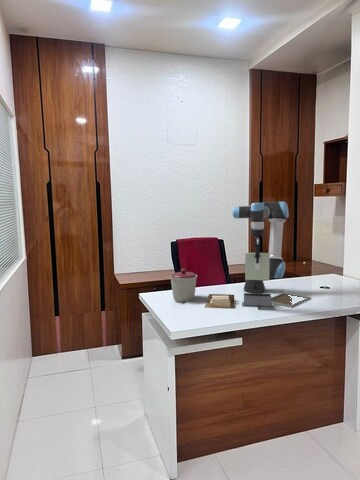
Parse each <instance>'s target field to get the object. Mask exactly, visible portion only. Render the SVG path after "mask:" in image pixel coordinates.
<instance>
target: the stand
mask: <svg viewBox="0 0 360 480" xmlns="http://www.w3.org/2000/svg"><path fill="white" fill-rule="evenodd" d="M271 297H272V293H249V292H244V293H243V301H242V302H241V304H242V305H241V307H244V308H257V310H260V311H261V310H262V311H267V310H268V311H273V310H274V305H273V304H272V303H271Z"/></svg>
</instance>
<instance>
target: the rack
mask: <svg viewBox="0 0 360 480" xmlns="http://www.w3.org/2000/svg"><path fill="white" fill-rule="evenodd" d="M212 296H229V300H231V305H230V307H210V301H211V299H212ZM236 304H237V300H236V299H235V294H231V293H230V294H228V293H227V294H226V293H225V294H224V293H223V294H222V293H220V294H218V293H209V294H208V295H207V301H206V303H205V305H204V309H227V310H230V309H231V310H233V309H234V310H235V309H236Z"/></svg>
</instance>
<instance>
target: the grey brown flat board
mask: <svg viewBox="0 0 360 480" xmlns="http://www.w3.org/2000/svg"><path fill="white" fill-rule="evenodd" d="M288 295H291V296H297V297H303V298H306V299H304V300H302V301H299V302H297V303H295V304H293V305H292V303H291V302H292V298H291V297H290V296H288ZM290 298H291V299H290ZM310 298H311V299H312V297H311V296H307V295H301V294H295V293H289V292H282V293H279V294H277V295H273V296H271V303H272V305H273V307H285V308H286V307H287V308H290V307H291V308H294V307H296V305H297V306H298V304H299V305H300V303H301V304H303V303H305V302H306V300H307V301H309V300H311V299H310ZM308 299H309V300H308ZM290 301H291V302H290ZM304 301H305V302H304ZM302 302H303V303H302Z"/></svg>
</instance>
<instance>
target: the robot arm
mask: <svg viewBox="0 0 360 480" xmlns="http://www.w3.org/2000/svg"><path fill="white" fill-rule="evenodd" d="M232 208H233V209H232V217H233V219H250V222H251V223H250V222H249V225H250V235H251V236H254V238H253V245H254V246H253V247H254V253H255V257H254V258H255V269H260V253H261V241H262V239H261V238H260V237H262V236H264V235H265V230H264V229H265V219H268V222H269V223H270V229H269V242H268V253H269V279H282V278H283V277H284V275H285V271H286V262H285V261H284V258H283V257H282V249H283V248H282V245H283V233H284V232H283V231H284V223H285V222H286V220H287V219H289V216H290V215H289V207H288V203H287V202H286V201H262V202H253V203H251V205H243V206H242V205H241V206H240V205H239V206H234V207H232ZM243 292H244V293H256V294H264V293H265V292H266V287H265V283H264V280H245V283H244V286H243Z"/></svg>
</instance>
